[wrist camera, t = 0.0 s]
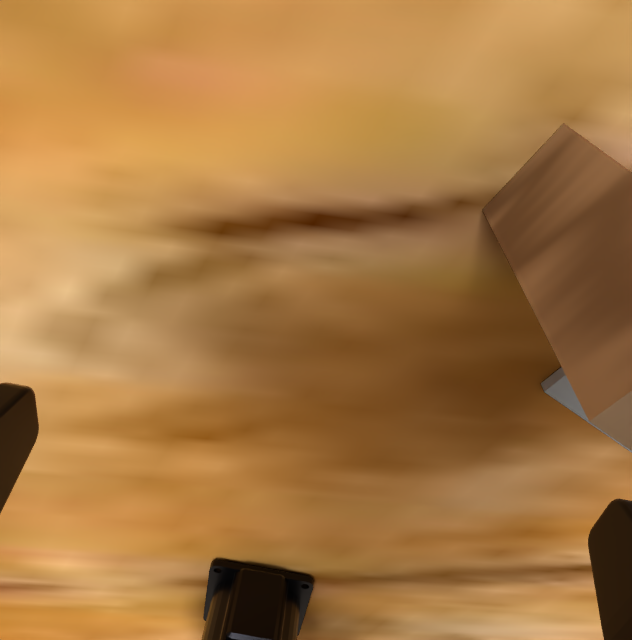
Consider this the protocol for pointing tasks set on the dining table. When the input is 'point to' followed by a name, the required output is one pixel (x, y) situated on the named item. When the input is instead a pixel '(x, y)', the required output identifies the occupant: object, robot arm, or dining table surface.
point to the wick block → (576, 267)
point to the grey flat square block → (566, 395)
